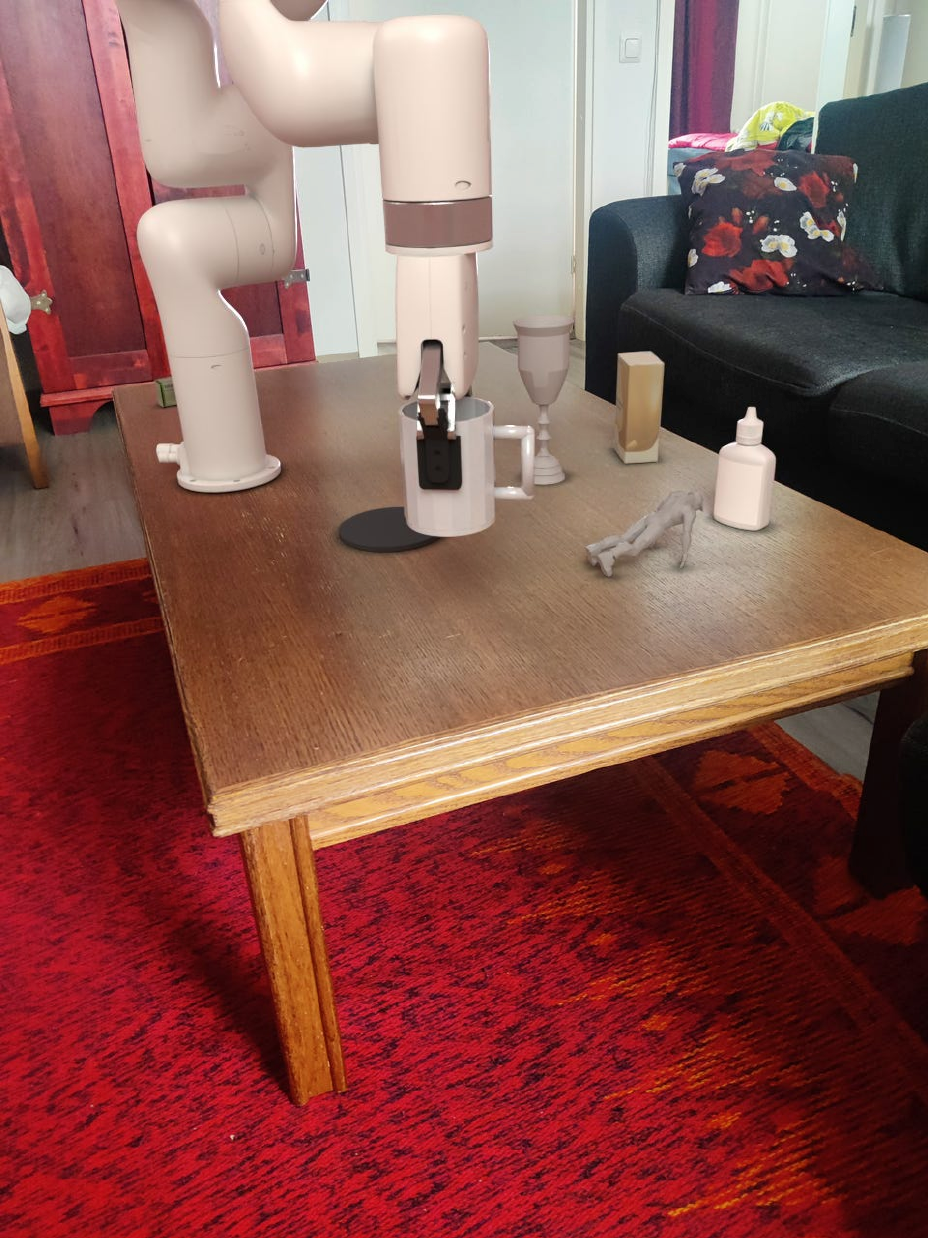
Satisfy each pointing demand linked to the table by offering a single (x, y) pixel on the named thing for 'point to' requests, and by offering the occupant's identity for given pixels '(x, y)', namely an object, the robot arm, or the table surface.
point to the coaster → (382, 531)
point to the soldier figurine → (650, 530)
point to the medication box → (165, 392)
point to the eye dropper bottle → (745, 478)
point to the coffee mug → (463, 472)
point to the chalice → (544, 378)
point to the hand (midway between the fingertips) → (448, 468)
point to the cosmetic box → (638, 407)
